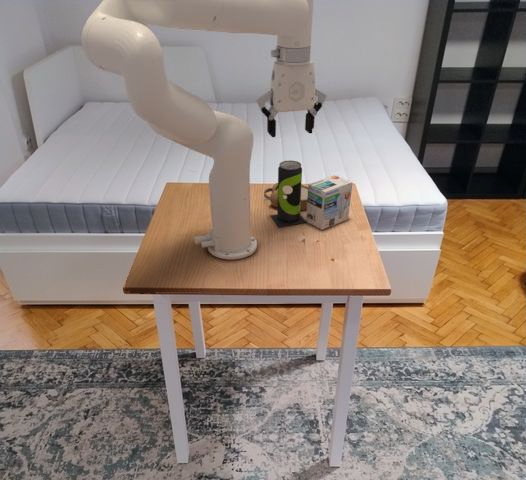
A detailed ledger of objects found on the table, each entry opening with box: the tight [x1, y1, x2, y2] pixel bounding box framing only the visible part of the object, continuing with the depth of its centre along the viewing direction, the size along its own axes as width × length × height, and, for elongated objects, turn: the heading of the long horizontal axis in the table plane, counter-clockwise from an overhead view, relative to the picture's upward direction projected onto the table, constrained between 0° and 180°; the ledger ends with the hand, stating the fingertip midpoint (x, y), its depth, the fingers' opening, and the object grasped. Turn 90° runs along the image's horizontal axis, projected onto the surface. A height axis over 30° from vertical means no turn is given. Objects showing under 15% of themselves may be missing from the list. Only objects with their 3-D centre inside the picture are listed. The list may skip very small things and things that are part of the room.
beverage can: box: [277, 160, 303, 222], centre depth 134 cm, size 6×6×15 cm
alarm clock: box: [263, 182, 308, 211], centre depth 146 cm, size 11×5×15 cm
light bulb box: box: [305, 174, 353, 231], centre depth 135 cm, size 11×7×11 cm, turn 129°
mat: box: [270, 213, 307, 228], centre depth 139 cm, size 8×7×1 cm
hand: (290, 133), depth 124 cm, fingers open, 9 cm apart
